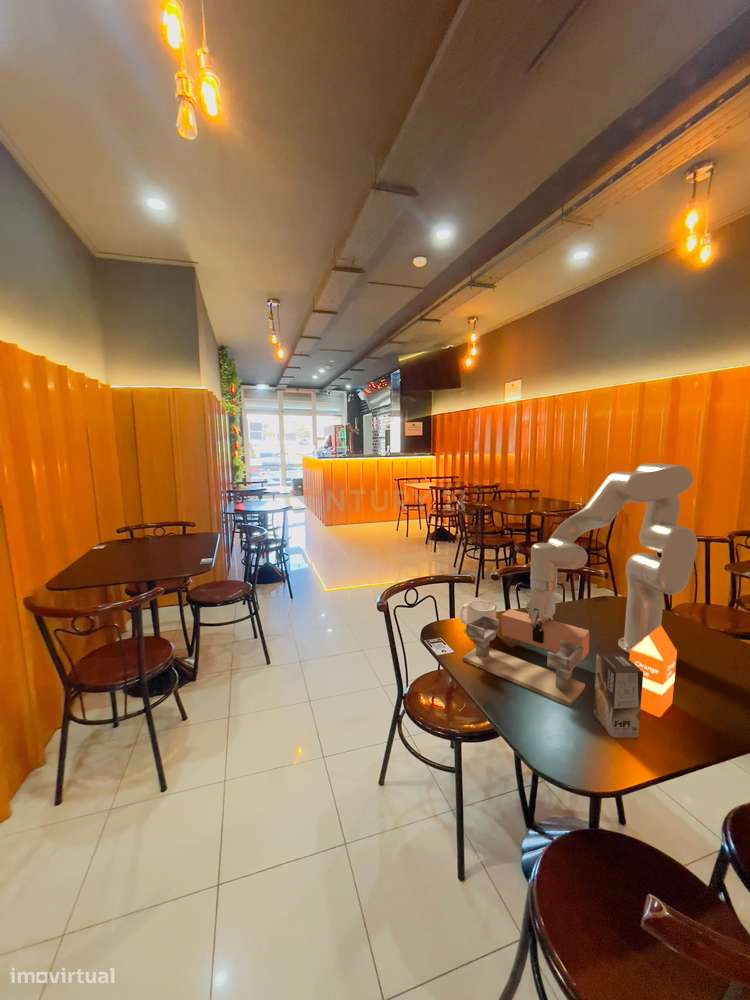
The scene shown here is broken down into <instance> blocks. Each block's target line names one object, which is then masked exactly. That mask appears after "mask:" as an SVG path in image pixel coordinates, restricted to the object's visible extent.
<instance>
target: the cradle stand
mask: <svg viewBox="0 0 750 1000" xmlns="http://www.w3.org/2000/svg"><path fill="white" fill-rule="evenodd" d="M499 629H500V619H497V618H496V619H495V618H492V617H489V616H486V615H481V616H479V617H478V618H476V619H474V620H473V621H471V622H469V623H468V624H467V627H466V626H465V634H466V633H467V635H466V637H468V638H469V637H471V638H474V639H476V640H475V648H473V649H471V651H469V652H468V653H466V654H465V655H463V656H462V661H463V662H465V661H466V662H465V663H467V662H468V664H469V665H472V664H473V665H472V666H474V665H475V667H477V668H479V667H480V668H479V669H481V668H482V670H484V671H486V672H489V673H491V674H493V675H494V676H498V677H500V678H503V679H504V680H508V682H509V681H510V682H512V683H514V684H517V685H518V686H521V687H523V688H525V689H528V690H530V691H533V692H535V693H537V694H540V695H542V696H545V697H547V698H549V699H552V700H554V701H557V702H558V703H561V704H563V705H566V706H568V707H571V706H572V705H573V703H574V702H575V701H576V699H577V698H579V696H580V695H581V694H582V692H583V691H584V689H585V687H586V683H584V682H581V681H579V680H577V679H573V678H572V677H573V670H574V669H575V667H577V665H578V664H579V663H580V662H581V660H582V657H583V647H582V646H579V645H576V644H573V643H570V642H567V641H564V640H561V641H560V651H559V652H558V653H557V652H553V651H548V652H547V653H546V654H547V660H546V666H547V667H548V668H551V669H554V670H555V671H554V670H553V671H552V670H550V669H548V668H544V667H542V666H539V665H537V664H534V663H532V662H530V661H529V662H528V661H526V660H523V659H521V658H518V657H516V656H513V655H510V654H508V653H505V652H502V651H500V650H497V649H495V648H492V647H490V645H491V644H490V642H491V641H490V637H491V636H492V635H494V634H495V633H496V634H497V633H498V632H499V631H500V630H499ZM471 638H470V639H471ZM582 661H583V660H582Z"/></svg>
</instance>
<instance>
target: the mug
mask: <svg viewBox="0 0 750 1000" xmlns="http://www.w3.org/2000/svg"><path fill="white" fill-rule="evenodd" d="M497 608H498V607H497V605H496V604H495V603H494V602H491V601H487V600H482V599H479V600H478V599H475V600H470V601H468V602H467V603H465V604H463V605H462V606H461V608H460V610H459V611H460V613H459V614H460V615H459V616H460V617H459V618H460V620H461V624H464V625H465V628H466V627H467V624H468V623H469V622H471V621H473V620H474V619H476V618H478V617H479V616H481V615H486V616H489V617H492V618H495V619H497ZM465 613H466V615H465ZM465 634H467V633H466V632H465ZM496 634H497V633H495V634H494V635H492V636H491V637H490V640H491V641H493V640H495V639H496V636H497V635H496ZM494 638H495V639H494ZM469 639H471V637H470V638H469ZM473 639H474V638H472V639H471V640H473ZM474 641H476V639H475V640H474Z"/></svg>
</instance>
